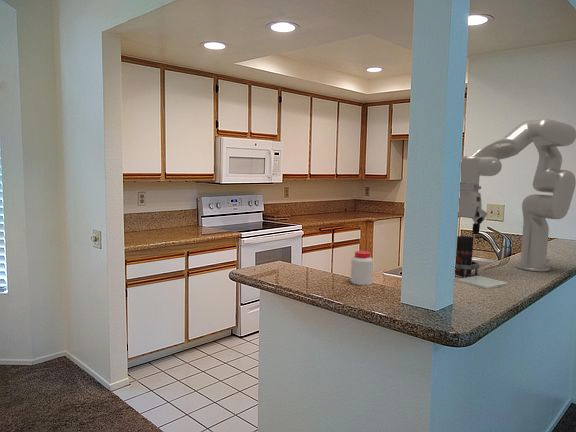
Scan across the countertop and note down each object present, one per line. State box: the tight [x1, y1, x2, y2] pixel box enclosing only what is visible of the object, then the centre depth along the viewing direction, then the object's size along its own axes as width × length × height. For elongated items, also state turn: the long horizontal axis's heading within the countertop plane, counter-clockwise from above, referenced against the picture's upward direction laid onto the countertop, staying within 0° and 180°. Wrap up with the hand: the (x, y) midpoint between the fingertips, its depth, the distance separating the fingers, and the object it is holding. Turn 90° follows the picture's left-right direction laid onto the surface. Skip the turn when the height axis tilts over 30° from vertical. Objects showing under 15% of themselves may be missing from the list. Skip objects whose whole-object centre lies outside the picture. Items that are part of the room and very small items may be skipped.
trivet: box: [457, 275, 508, 290], centre depth 161 cm, size 12×12×1 cm
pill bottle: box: [350, 250, 374, 286], centre depth 159 cm, size 8×8×11 cm
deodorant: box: [454, 235, 474, 277], centre depth 173 cm, size 6×6×15 cm
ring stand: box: [454, 260, 480, 279], centre depth 174 cm, size 11×11×5 cm
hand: (464, 232), depth 172 cm, fingers open, 9 cm apart
